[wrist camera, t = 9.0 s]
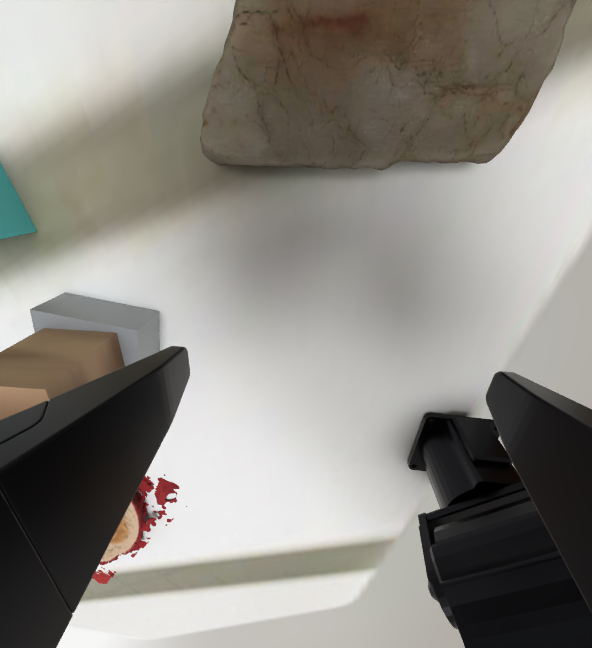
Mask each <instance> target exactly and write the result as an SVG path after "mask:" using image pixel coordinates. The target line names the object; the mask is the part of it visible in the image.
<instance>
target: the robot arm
mask: <svg viewBox="0 0 592 648" xmlns="http://www.w3.org/2000/svg"><path fill="white" fill-rule="evenodd" d="M189 376H190V367H189V359H188V352H187V349H186V348H185V347H179V346H171V347H168V348H166V349H164V350H162V351H159V352H157V353H155V354H152V355H150V356H148V357H145V358H143V359H141V360H139V361H136V362H134V363H132V364H129V365H127V366H125V367H122V368H120V369H118V370H116V371H113V372H111V373H109V374H106V375H104V376H102V377H100V378H97V379H95V380H93V381H90V382H88V383H86V384H83V385H81V386H79V387H77V388H74V389H72V390H70V391H67V392H65V393H63V394H60V395H58V396H56V397H54V398H51V399H50V400H49V401H44V402H42V403H40V404H37V405H35V406H33V407H30V408H28V409H26V410H23V411H21V412H18V413H16V414H14V415H11V416H9V417H7V418H4V419H2V420H0V648H56V647H57V645H58V643H59V641H60V639H61V637H62V635H63V633H64V631H65V629H66V628H67V626H68V624H69V622H70V620H71V618H72V613H73V612H74V611H75V610H76V608H77V606H78V604H79V602H80V600H81V598H82V596H83V594H84V592H85V590H86V588H87V586H88V584H89V582H90V581H91V579H92V577H93V575H94V573H95V571H96V569H97V567H98V565H99V563H100V561H101V559H102V557H103V555H104V553H105V552H106V550H107V548H108V546H109V544H110V542H111V540H112V538H113V536H114V534H115V532H116V530H117V528H118V526H119V524H120V523H121V521H122V519H123V517H124V515H125V513H126V511H127V509H128V507H129V505H130V503H131V501H132V499H133V497H134V495H135V493H136V492H137V490H138V488H139V486H140V484H141V482H142V480H143V478H144V476H145V474H146V472H147V470H148V468H149V466H150V464H151V463H152V461H153V459H154V457H155V455H156V453H157V451H158V449H159V447H160V445H161V443H162V441H163V439H164V437H165V435H166V434H167V432H168V430H169V428H170V426H171V423H172V421H173V419H174V416H175V414H176V411H177V409H178V406H179V403H180V401H181V398H182V395H183V393H184V390H185V387H186V385H187V382H188V379H189ZM486 402H487V405H488V407H489V410H490V412H491V415H492V417H493V420H491V419H481V418H471V417H462V416H452V415H442V414H433V413H429V414H426V415H425V416H424V418H423V421H422V424H421V426H420V429H419V432H418V435H417V437H416V440H415V443H414V446H413V448H412V451H411V454H410V457H409V459H408V466H409V468H410V469H412V470H420V471H426V472H427V474H428V477H429V480H430V482H431V485H432V488H433V490H434V493H435V496H436V498H437V501H438V504H439V506H440V509H439V510H436V511H433V512H430V513H427V514H426V513H423V514H420V515H418V518H419V524H420V526H419V530H420V536H421V542H422V548H423V554H424V560H425V566H426V572H427V577H428V587H429V591H430V594H431V596H432V597H433V598H434V599H435V600H437V601H438V602H439V603H440V605H441V608H442V610H443V612H444V613H445V615H446V617H447V619H448V620H449V622H450V623H451V625H452V626H453V627H454V628H456V629H458V630H459V632H460V635H461V637H462V640H463V643H464V646H465V648H592V409H590V408H587V407H585V406H583V405H581V404H579V403H577V402H575V401H573V400H570V399H568V398H566V397H564V396H562V395H560V394H558V393H556V392H554V391H552V390H550V389H547V388H545V387H543V386H541V385H539V384H537V383H534V382H533V381H530V380H528V379H526V378H524V377H522V376H520V375H518V374H516V373H513V372H502V371H500V372H497V373H496V374H495V375H494V377H493V379H492V382H491V384H490V386H489V389H488V391H487V394H486ZM430 419H431V420H430ZM495 426H496V427H495ZM499 436H500V437H501V440H502V442H503V444H504V447H505V449H506V450H505V449H504V447H503V446H502V444H501V443H500V441H499V440H498V438H499ZM512 463H513V465H514V467H515V468H514V467H513V465H512Z"/></svg>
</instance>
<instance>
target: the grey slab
mask: <svg viewBox="0 0 592 648" xmlns="http://www.w3.org/2000/svg"><path fill="white" fill-rule="evenodd" d="M30 312H31V316H32V321H33V326H34V330H35V333H36V332H38V331H39V330H41V329H43V328H51V329H66V330H82V331H98V332H114V333H117V336H118V340H119V344H120V348H121V352H122V356H123V360H124V364H125V366H127V365H129V364H132V363H134V362H136V361H139V360H141V359H143V358H145V357H148V356H150V355H152V354H155V353H157V352H159V311H155V310H150V309H145V308H140V307H135V306H130V305H125V304H120V303H115V302H110V301H105V300H100V299H95V298H90V297H85V296H79V295H74V294H69V293H64V294H62V295H60V296H57V297H55V298H53V299H51V300H49V301H47V302H45V303H43V304H41V305H39V306H36V307H34V308H32V309H30Z"/></svg>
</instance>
